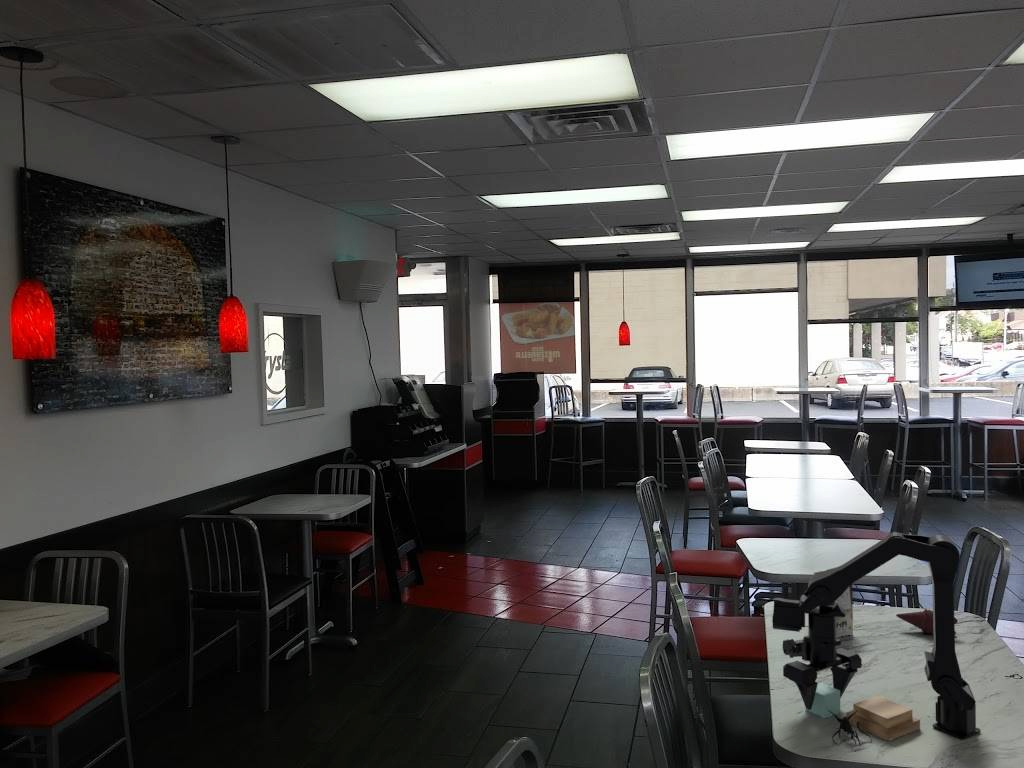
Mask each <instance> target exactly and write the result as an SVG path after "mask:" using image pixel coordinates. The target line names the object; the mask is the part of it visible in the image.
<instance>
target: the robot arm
mask: <svg viewBox="0 0 1024 768" xmlns="http://www.w3.org/2000/svg"><path fill="white" fill-rule="evenodd" d="M960 554H961V553H960V551H959V549H958V547H957V545H956V544H955V542H954V541H953V540H952V539H951V538H950V537H948V536H947V535H943V534H935V535H933V536H932V535H931V536H927V535H922V534H907V533H906V534H905V533H901V532H897V531H894V532H893V531H892V532H890V533H888V534H887V536H885V538H882V539H881V540H880V541H878V542H877V543H875V544H873V545H872V546H870V547H868V548H867V549H865V550H863V551H862V552H860V553H859V554H858V555H856V556H854V557H852V558H851V559H849V560H848V561H846V562H844V563H843V564H842V565H839V566H837V567H836V566H835V567H832V568H828V569H826V570H822V571H823V572H821V573H818V574H816V575H814V574H813V575H812V576H811V578H809V580H808V584H807V585H808V586H807V589H806V590H805V591H804V592H803V594H801V596H800V598H799V600H797V599H786V598H783V597H774V599H773V610H772V611H773V613H772V617H771V618H772V619H771V620H772V630H778V631H779V630H780V631H788V632H797V633H799V632H801V631H802V629H805V628H806V614H808V615H807V616H808V618H807V619H808V623H807V624H808V628H807V629H808V631H807V632H808V635H805V636H803V638H802V639H798V640H794V638H791V639H789V638H788V639H784V640H782V647H781V648H782V651H783V654H784V655H785V656H788V657H789V658H790V659H793V658H796V657H800V658H801V660H802V661H806V662H809V663H808V664H806V663H804V662H802V661H799V660H795V661H792V662H788V663H785V664H784V665H783V666H782V667H783V668H782V671H783V672H782V676H783V677H784V678H787V679H788V680H790V681H791V682H794V683H795V685H796V687H797V689H798V691H799V693H800V696H801V699H802V701H803V703H804V707H805V710H806V709H808V710H811V708H812V705H813V702H814V697H815V693H816V689H817V685H818V682H817V681H816V680H817V679H818V673H819V672H820V673H821V672H823V671H826V670H829V669H830V672H831V673H832V683H833V684H832V687H833V688H835V689H837V690H840V700H841V698H842V697H843V695H844V693H845V691H846V690H847V687H848V685H849V684H850V682H851V680H852V679H853V678H854V676H855V675H856V674H857V673H858V671H859V670H858V669H861V668H862V662H863V661H862V658H861V656H860V654H858V653H857V652H854V651H851V650H848V649H846V648H842V647H839V646H841V645H842V640H841V639H838V637H837V630H836V617H845V616H846V615H845V610H844V609H843V608H842V607H841V606H840V605H839V603H836V604H835V605H833V606H829V605H831V604H832V603H834V602H835V601H836V600H837V599H838V598H839V597H840V596H841V595H842V594H843V593H844V592H845V591H846V590H847V588H848V587H849V586H850V585H851V584H852V585H853V584H854V583H855V582H858V580H861V579H862V578H863V577H865V576H867V575H868V574H870V573H871V572H873V571H875V570H877V569H878V568H880V567H881V566H883V565H884V564H886V563H888V562H889V561H891V560H893V559H894V558H896V557H898V556H904V557H908V558H912V559H915V560H918V561H920V562H925V563H926V562H927V564H928V569H929V572H930V576H931V579H932V580H931V581H932V583H931V584H932V587H931V588H932V589H931V590H932V611H933V630H934V633H933V646H932V650H931V651H927V650H924V657H925V665H924V668H923V669H924V672H925V675H926V679H927V681H928V682H930V685H931V687H932V690H934V692H935V693H937V696H936V697H937V699H936V701H935V723H932V728H935V729H937V730H939V731H942V732H944V733H945V734H947V735H948V734H949V735H951V736H953V737H956V738H958V739H961V740H965V739H967V738H969V737H972V736H974V735H977V734H979V733H981V728H978V727H977V726H976V725H977V723H976V722H977V720H976V718H977V715H976V713H977V710H976V709H977V704H976V699H975V696H974V693H973V691H972V688H971V686H970V684H969V683H968V682H967V681H966V680H965V679H963V677H962V674H961V669H960V665H959V662H958V658H957V653H956V635H955V631H956V629H955V627H956V626H955V625H956V624H954V617H955V596H954V595H955V593H954V591H955V590H954V585H955V582H956V578H957V576H958V575H957V574H958V571H959V565H960V559H961V555H960ZM818 606H819V607H818ZM837 647H839V648H837ZM808 710H807V711H808Z"/></svg>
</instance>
